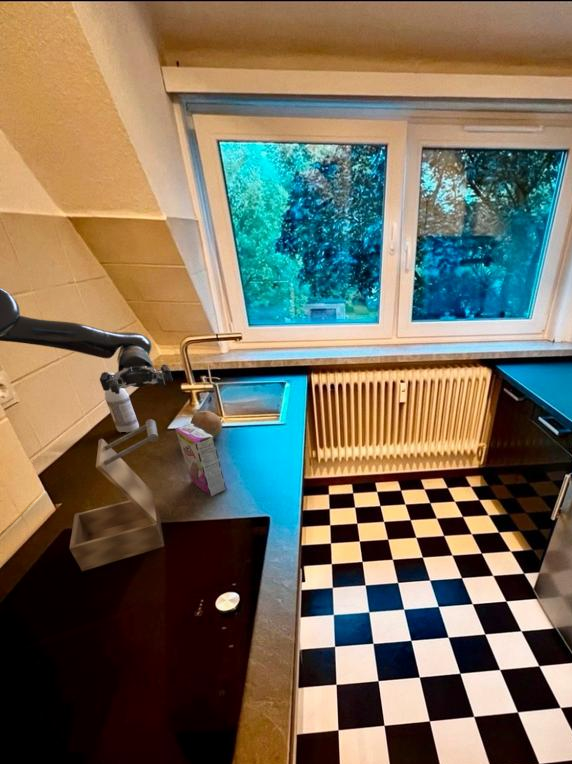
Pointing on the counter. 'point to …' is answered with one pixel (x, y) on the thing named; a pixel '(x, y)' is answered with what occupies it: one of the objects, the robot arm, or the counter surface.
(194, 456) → the candy bar box
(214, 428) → the brown round ball
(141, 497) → the box lid
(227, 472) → the counter surface
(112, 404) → the bath foam
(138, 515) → the oak box
